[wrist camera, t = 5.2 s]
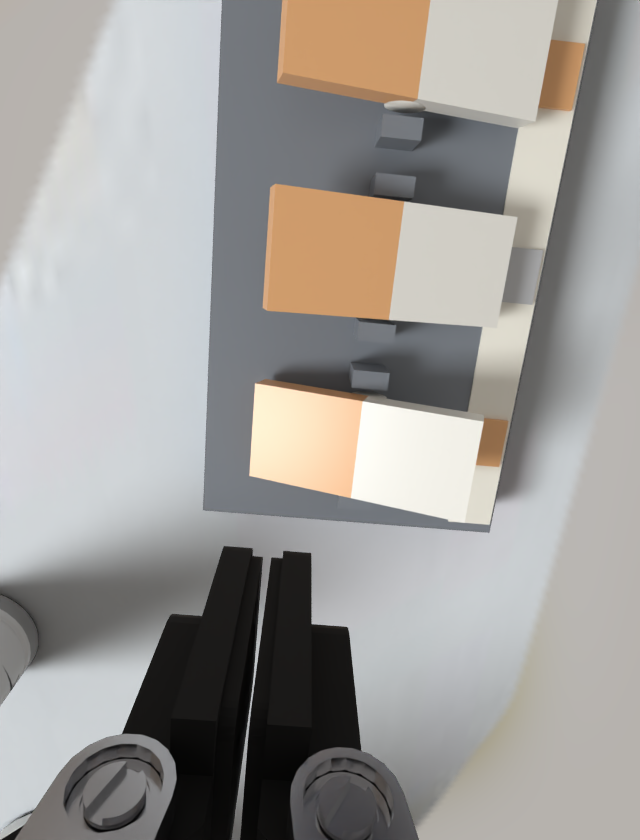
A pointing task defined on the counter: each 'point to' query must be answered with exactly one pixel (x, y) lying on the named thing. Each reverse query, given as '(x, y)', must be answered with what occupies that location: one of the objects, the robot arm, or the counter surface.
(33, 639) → the travel mug
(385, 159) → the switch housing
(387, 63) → the switch
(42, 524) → the counter surface
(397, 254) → the switch
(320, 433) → the switch
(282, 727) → the robot arm
